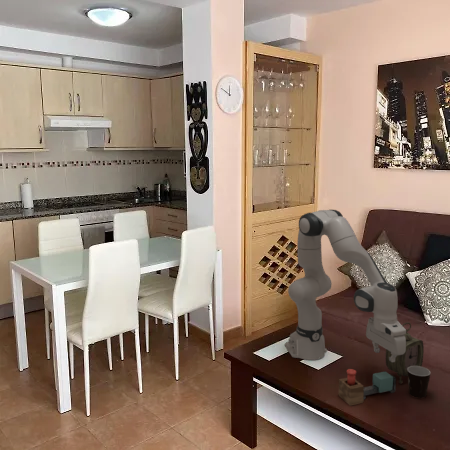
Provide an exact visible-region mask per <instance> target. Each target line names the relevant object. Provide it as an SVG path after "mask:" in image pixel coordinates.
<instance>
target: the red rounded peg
mask: <svg viewBox="0 0 450 450" xmlns="http://www.w3.org/2000/svg"><path fill="white" fill-rule="evenodd" d="M346 375H347V377H346V378H347V384H348V385H349V386H353V385H355V380H356V375H357V370H355V369H353V368H348V369H347V370H346Z"/></svg>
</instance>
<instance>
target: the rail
mask: <svg viewBox="0 0 450 450" xmlns="http://www.w3.org/2000/svg"><path fill="white" fill-rule="evenodd" d="M390 375H391V376H393V386H392V390H390V391H387V392H388V393H389V394H394V393H395V392H396V391H397V390H396V389H397V387H396V386H397V378H396V376H395V375H393V374H390ZM377 393H379V388H378V387H377V386H376V385H373V384H372V385H369V386H364V395H363V400H366V399H367V398H366V396H370V395H373V394H377Z"/></svg>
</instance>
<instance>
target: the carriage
mask: <svg viewBox="0 0 450 450" xmlns="http://www.w3.org/2000/svg"><path fill="white" fill-rule="evenodd" d="M391 375H392V374H389V373H388V372H387V371H381V372H375V373H372V386H373V385H376V386H377V387H378V388H379V393H380V394H381V393H385V392H388V391H390V390H392V386H393V376H394V375H393V376H391Z"/></svg>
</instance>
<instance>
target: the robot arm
mask: <svg viewBox="0 0 450 450" xmlns="http://www.w3.org/2000/svg"><path fill="white" fill-rule="evenodd" d="M323 236H326V237H327V239H328V240H329V243H330V246H331V247H332V248H331V249H332V250H333V253H334V254H335V256H336V257H337V259H338V260H341V262H346V263H350V264H354V265H356V266H358V267H359V268H360V269H361V270H362V271H363V273H364V274H365V276H366V278H367V279H368V281H369V283H370V285H369V286H365V287H362V288H359V289H356V290H355V292H354V294H353V302H354V305H355V307H356V308H357V309H358V310H360V311H361V312H365V313H372V314H373V316H370V317H369V318H368V320H367V325H366V331H365V332H366V333H365V336H366V338H367V339H369V341H371V342H372V347H373V352H375V353H376V354H378V353H380V352H381V349H380V347H382V348H384V349H385V350H386V349H387V350H389V351H390V352H391V354H392V356H391V357H389V361H391V362H395V358H396V356H397V355H403V354H404V353H405V351H406V338H405V336H404V334H406V328H405V327H404V326H402V325H403V324H401V322H399V320H398V315H397V310H398V306H399V305H398V304H399V303H398V302H399V301H398V290H397V289H396V288H397V287H396V286H394V285H393V284H391V283H388V282H387V280H386V278H385V277H384V276H383V274H382V271H381V270H380V269H379V267H378V265H377V263H376V262H375V260H374V258H373V256H372V255H371V254H370V252H369V251H367V250H366V249H365V248H364V246H362V244H361V243H360V241H359V239H358V238H357V235H356V234H355V232H354V229H353V227H352V226H351V224H350V223H349V221H348V220H347V218H345V217H344V216H343V214H342V213H341V212H340V211H339V210H337V209H320V210H317V211H311V212H306V213H304V214H303V215H301V216H300V218H299V220H298V233H297V245H296V246H297V247H296V248H297V263H298V266H300V267H301V268H302V269H303V273H304V276H303V277H301V278H297V279H295V280H294V281H293V282H291V283H290V284H289V286H288V289H287V290H288V296H289V298H290V299H291V301H292V302H294V304H295V305H296V308H297V321H298V323H296V325H295V326H296V330H295V331H294V332H292V333H290V335H289V339H288V341H286V342H284V347H285V348H286V350H287V351H288V353H289V355H290V356H291V357H292V358H295V359H296V358H297V359H302V360H307V361H315V360H321V359H323V358H324V357H325V355H326V353H327V352H328V349H327V348H326V346H325V345H326V344H325V343H326V342H325V336H324V335H323V333H324V332H323V329H324V328H323V325H322V314H323V313H322V310H321V309H320V308H319V306H317V301H316V300H317V298H319V297H322V296H324V295H326V294H327V293H328V292H329V291H330V290H331V288H332V285H333V284H332V283H333V282H332V280H331V278H330V276H329V275H328V274H327V273H326V272H325V269H324V266H323V260H322V259H323V257H322V237H323Z"/></svg>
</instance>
